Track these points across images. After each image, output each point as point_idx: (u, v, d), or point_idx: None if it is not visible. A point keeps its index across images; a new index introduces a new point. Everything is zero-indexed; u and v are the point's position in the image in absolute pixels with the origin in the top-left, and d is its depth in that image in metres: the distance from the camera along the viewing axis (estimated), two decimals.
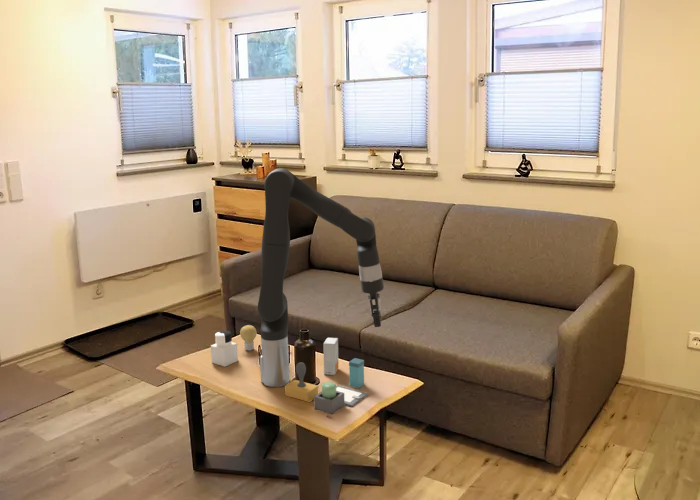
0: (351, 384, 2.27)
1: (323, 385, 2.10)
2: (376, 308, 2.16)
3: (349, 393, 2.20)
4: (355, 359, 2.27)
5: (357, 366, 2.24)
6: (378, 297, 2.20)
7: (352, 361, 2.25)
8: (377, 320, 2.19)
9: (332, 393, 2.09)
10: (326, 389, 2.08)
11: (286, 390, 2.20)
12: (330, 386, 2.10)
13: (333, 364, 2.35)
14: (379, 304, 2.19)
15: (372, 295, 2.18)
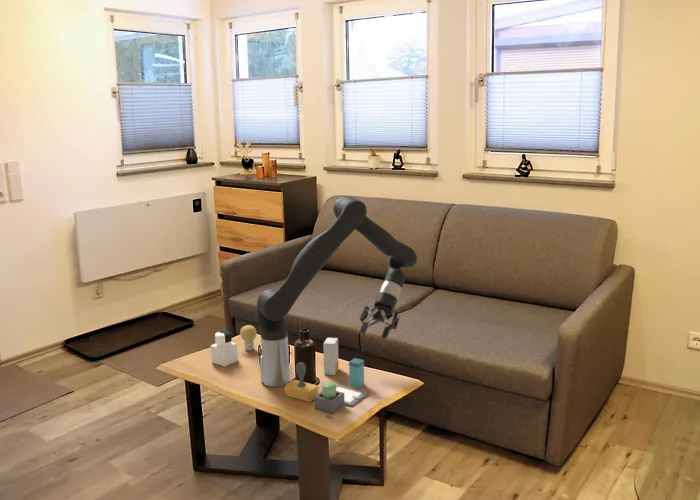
0: (351, 384, 2.27)
1: (323, 385, 2.10)
2: (397, 321, 2.33)
3: (349, 393, 2.20)
4: (355, 359, 2.27)
5: (357, 366, 2.24)
6: None
7: (352, 361, 2.25)
8: (388, 332, 2.32)
9: (332, 393, 2.09)
10: (326, 389, 2.08)
11: (286, 390, 2.20)
12: (330, 386, 2.10)
13: (333, 364, 2.35)
14: (389, 321, 2.36)
15: (392, 310, 2.36)
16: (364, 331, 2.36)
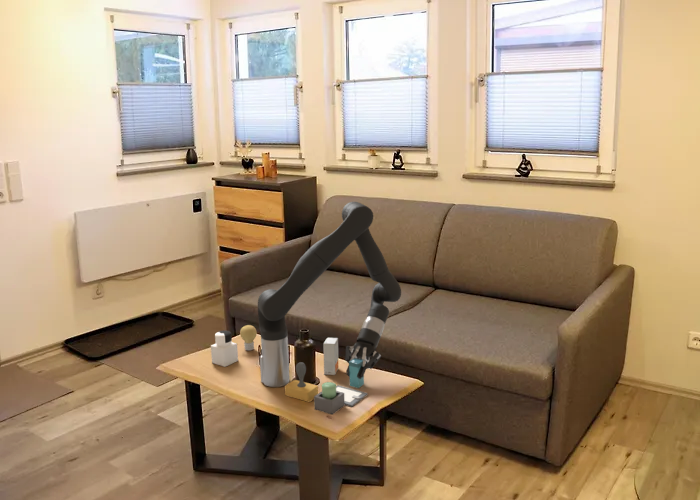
0: (351, 384, 2.27)
1: (323, 385, 2.10)
2: (375, 362, 2.26)
3: (349, 393, 2.20)
4: (355, 359, 2.27)
5: (357, 366, 2.24)
6: None
7: (352, 361, 2.25)
8: (364, 372, 2.25)
9: (332, 393, 2.09)
10: (326, 389, 2.08)
11: (286, 390, 2.20)
12: (330, 386, 2.10)
13: (333, 364, 2.35)
14: None
15: (374, 347, 2.28)
16: None
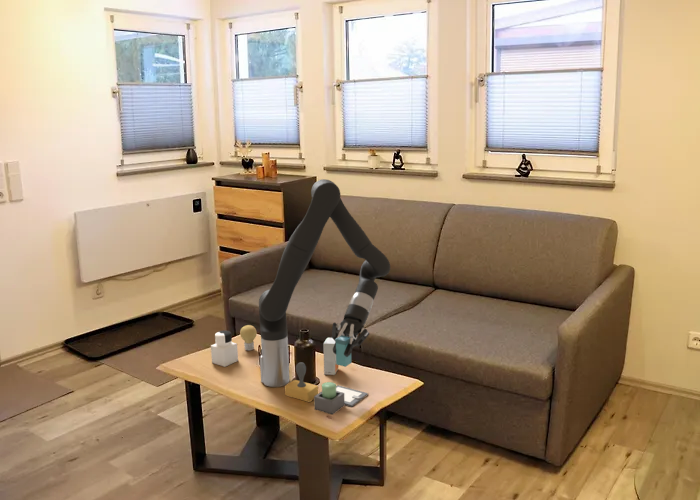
0: (338, 362, 2.16)
1: (323, 385, 2.10)
2: (363, 339, 2.15)
3: (349, 393, 2.20)
4: (342, 336, 2.16)
5: (344, 343, 2.13)
6: None
7: (339, 338, 2.14)
8: (351, 349, 2.14)
9: (332, 393, 2.09)
10: (326, 389, 2.08)
11: (286, 390, 2.20)
12: (330, 386, 2.10)
13: (333, 364, 2.35)
14: (356, 337, 2.17)
15: (362, 324, 2.17)
16: None
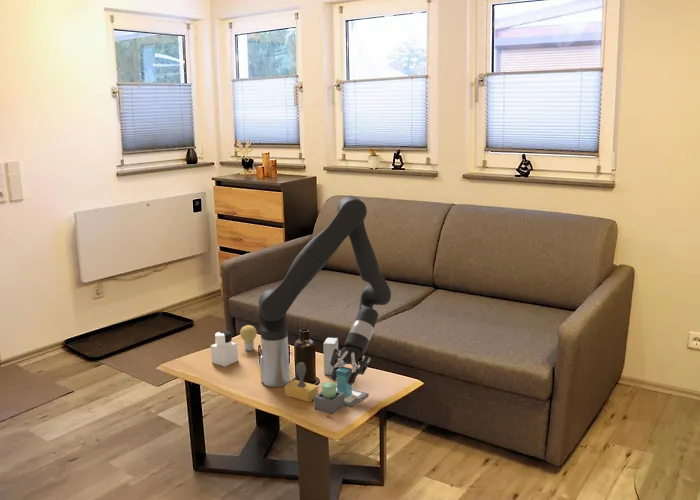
0: None
1: (323, 385, 2.10)
2: (366, 367, 2.17)
3: None
4: (343, 367, 2.19)
5: (345, 375, 2.15)
6: None
7: (339, 370, 2.17)
8: (355, 378, 2.16)
9: (332, 393, 2.09)
10: (326, 389, 2.08)
11: (286, 390, 2.20)
12: (330, 386, 2.10)
13: None
14: (358, 364, 2.19)
15: (363, 352, 2.19)
16: (335, 377, 2.19)
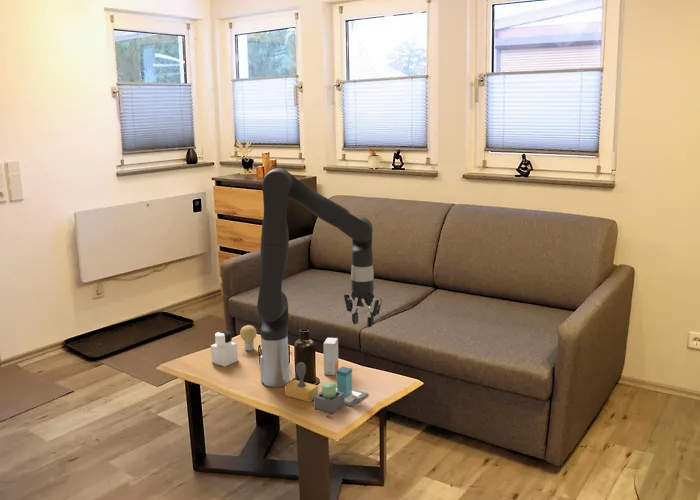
0: None
1: (323, 385, 2.10)
2: (379, 308, 2.20)
3: None
4: (343, 367, 2.19)
5: (345, 375, 2.15)
6: None
7: (339, 370, 2.17)
8: (372, 319, 2.22)
9: (332, 393, 2.09)
10: (326, 389, 2.08)
11: (286, 390, 2.20)
12: (330, 386, 2.10)
13: (333, 364, 2.35)
14: None
15: (371, 294, 2.20)
16: (356, 321, 2.26)
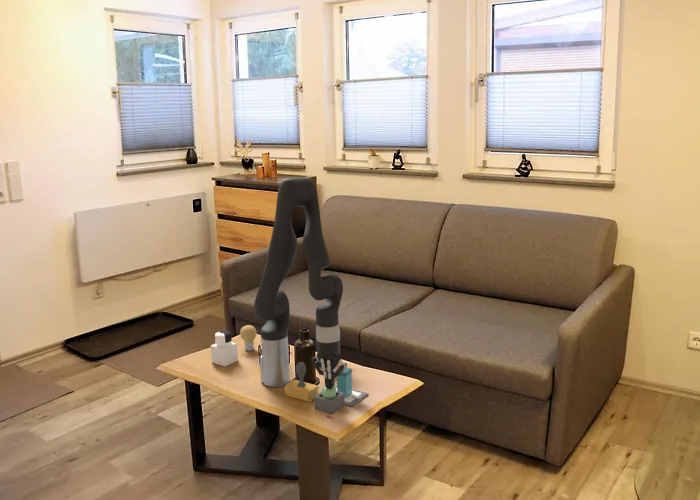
0: None
1: (323, 388, 2.11)
2: (341, 371, 2.07)
3: None
4: None
5: (345, 375, 2.15)
6: None
7: None
8: (333, 381, 2.10)
9: (332, 396, 2.09)
10: (326, 391, 2.09)
11: (286, 390, 2.20)
12: (330, 389, 2.10)
13: None
14: None
15: (338, 355, 2.06)
16: None
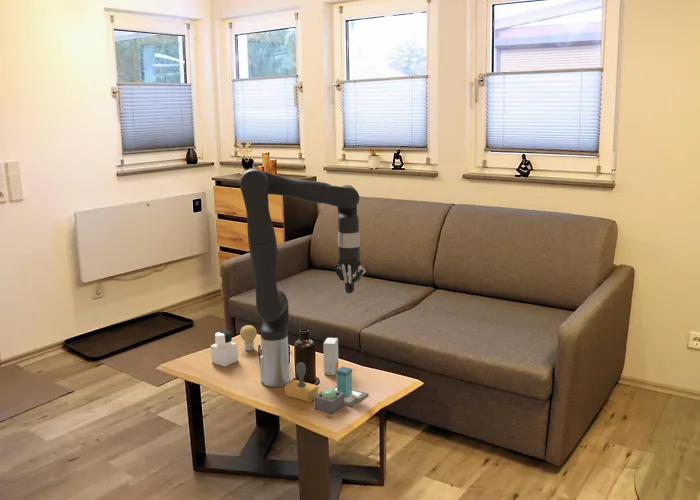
0: None
1: (323, 391, 2.11)
2: (361, 276, 2.25)
3: None
4: (343, 367, 2.19)
5: (345, 375, 2.15)
6: None
7: (339, 370, 2.17)
8: (353, 286, 2.27)
9: None
10: (326, 395, 2.09)
11: (286, 390, 2.20)
12: (330, 392, 2.10)
13: (333, 364, 2.35)
14: None
15: (358, 260, 2.23)
16: None
